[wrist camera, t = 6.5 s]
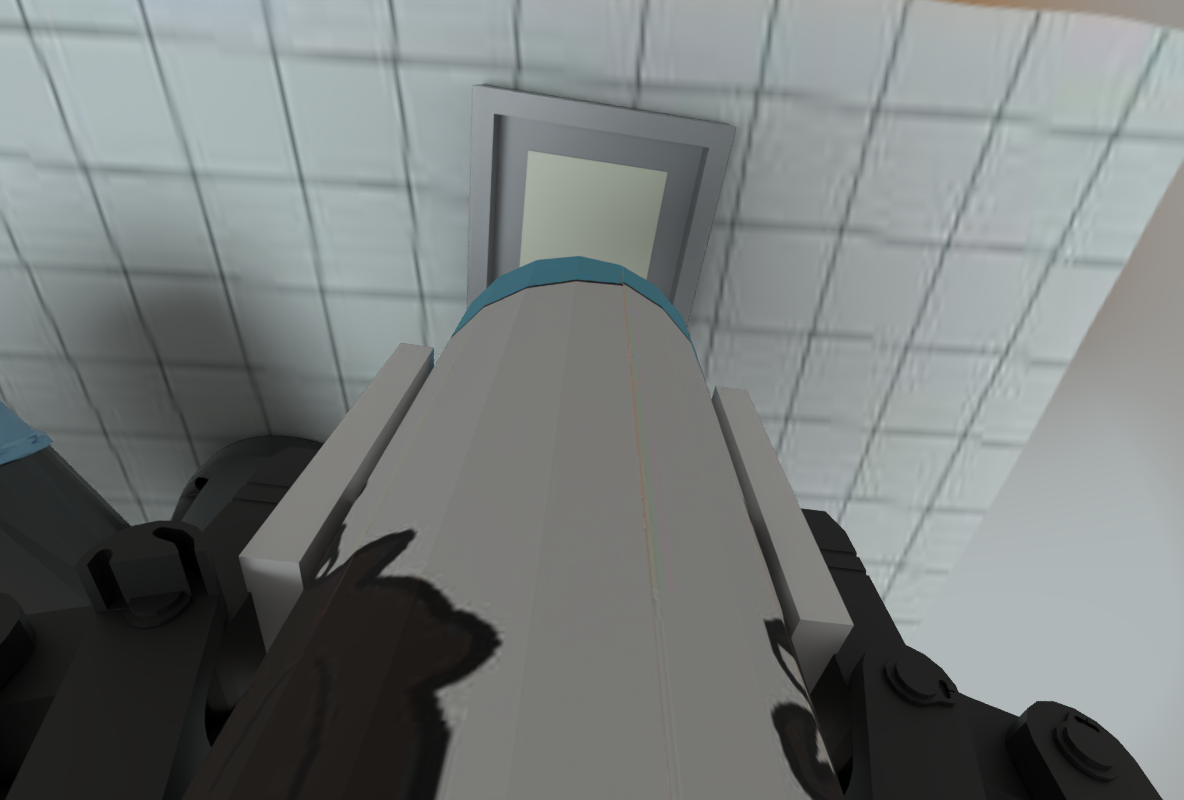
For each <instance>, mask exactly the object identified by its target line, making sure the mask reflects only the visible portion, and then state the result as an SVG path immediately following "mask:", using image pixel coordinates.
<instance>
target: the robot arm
mask: <svg viewBox="0 0 1184 800" xmlns="http://www.w3.org/2000/svg"><path fill="white" fill-rule="evenodd" d="M433 368H434V348H433V347H426V346H419V345H411V344H404V343H401V344H400V345H399V346H398V348H397V349H396V350H395V351H394V353H393V354H392V355H391V357H390V358H389V359H388V361H387V362H386V363H385V365H384V366H383V367H382V369H381V370H380V371H379V372H378V374H377V375H376V376H375V378H374V379H373V380H372V382H371V383H370V384H369V386H368V387H367V388H366V390H365V391H364V392H363V393H362V395H361V396H360V397H359V399H358V400H357V401H356V403H355V404H354V405H353V407H352V408H351V409H350V411H349V412H348V413H347V414H346V416H345V417H344V418H343V420H342V421H341V422H340V424H339V425H338V426H337V428H336V429H335V430H334V432H333V433H332V434H331V436H330V437H329V438H328V439H327V441H326V442H325V443H324V445H322V444H319V443H316V442H312V441H309V440H304V439H299V438H293V437H284V436H263V437H255V438H249V439H245V440H241V441H238V442H235V443H233V444H231V445H229V446H227V447H225V448H223V449H222V450H220V451H219V452H218V453H216V454H215V455H214V456H213V457H212V458H211V459H210V460H209V461H208V462H207V463H206V464H205V465H204V466H203V467H202V468H201V469H199V470H198V471H197V472H196V473H195V475H194V476H193V477H192V478H191V479H190V481H189V482H188V483H187V485H186V487H185V488H184V490H183V492H182V495H181V497H180V499H179V501H178V504H177V506H176V508H175V511H174V513H173V515H172V518H171V520H170V521H155V522H150V523H145V524H140V525H135V526H131V525H130V524H129V523H128V522H127V521H125V520H124V519H123V518H122V517H121V516H120V515H119V514H118V513H117V512H116V511H115V510H114V509H113V508H112V507H111V506H110V505H109V504H108V503H107V502H106V501H105V500H104V499H103V498H102V497H101V496H100V495H99V494H98V493H97V492H96V491H95V490H94V489H93V488H92V487H91V486H90V485H89V484H88V483H87V482H86V481H85V480H84V479H83V478H82V477H81V476H80V475H79V474H78V473H77V472H76V471H75V470H74V469H73V468H72V467H71V466H70V465H69V464H68V463H67V462H66V461H65V460H64V459H63V458H62V457H61V456H60V455H59V454H58V453H57V452H56V451H55V450H54V449H53V448H52V447H51V446H50V444H51V443H52V442H53V441H52V440H51V439H50V438H49V437H48V436H47V435H46V433H43V432H40V431H39V430H35V429H32V428H31V427H30V426H29V425H27V424H26V423H25V422H24V421H23V420H22V419H21V418H20V417H18V416H17V415H16V414H15V413H14V412H13V411H12V410H11V409H9V408H8V407H7V406H6V405H5V404H4V403H3V402H2V401H0V800H181V799H182V797H183V795H184V794H185V792H186V790H187V788H188V787H189V785H190V783H191V782H192V780H193V778H194V777H195V775H196V773H197V771H198V770H199V768H200V766H201V765H202V763H203V761H204V759H205V758H206V756H207V754H208V753H209V751H210V749H211V747H212V746H213V744H214V742H215V741H216V739H217V737H218V735H219V734H220V732H221V730H222V729H223V727H224V725H225V723H226V722H227V720H228V718H229V717H230V715H231V713H232V712H233V710H234V708H235V706H236V705H237V703H238V701H239V700H240V698H241V696H242V694H243V693H244V691H245V689H246V688H247V686H248V684H249V682H250V681H251V679H252V677H253V676H254V674H255V672H256V670H257V669H258V667H259V665H260V664H261V662H262V660H263V658H264V657H265V655H266V653H267V652H268V650H269V648H270V647H271V645H272V643H273V641H274V640H275V638H276V636H277V635H278V633H279V631H280V629H281V628H282V626H283V624H284V623H285V621H286V619H287V617H288V616H289V614H290V612H291V611H292V609H293V607H294V605H295V604H296V602H297V600H298V599H299V597H300V595H301V593H302V592H303V590H304V588H305V587H306V585H307V583H308V582H309V580H310V578H311V576H312V575H313V573H314V571H315V570H316V568H317V566H318V564H319V563H320V561H321V559H322V558H323V556H324V554H325V552H326V551H327V549H328V547H329V546H330V544H331V542H332V540H333V539H334V537H335V535H336V534H337V532H338V530H339V528H340V527H341V525H342V523H343V522H344V520H345V518H346V517H347V515H348V513H349V511H350V510H351V508H352V506H353V505H354V503H355V501H356V499H357V498H358V496H359V494H360V493H361V491H362V489H363V487H364V486H365V484H366V482H367V481H368V479H369V477H370V475H371V474H372V472H373V470H374V469H375V467H376V465H377V463H378V462H379V460H380V458H381V457H382V455H383V453H384V451H385V450H386V448H387V446H388V445H389V443H390V441H391V440H392V438H393V436H394V434H395V433H396V431H397V429H398V428H399V426H400V424H401V422H402V421H403V419H404V417H405V416H406V414H407V412H408V410H409V409H410V407H411V405H412V404H413V402H414V400H415V398H416V397H417V395H418V393H419V392H420V390H421V388H422V386H423V385H424V383H425V381H426V380H427V378H428V376H429V375H430V373H431V371H432V369H433ZM712 403H713V406H714V409H715V412H716V415H717V418H718V421H719V424H720V427H721V430H722V433H723V436H724V439H725V442H726V445H727V448H728V451H729V454H730V457H731V460H732V463H733V466H734V469H735V472H736V475H737V478H738V481H739V484H740V487H741V490H742V493H743V496H744V499H745V502H746V505H747V508H748V511H749V514H750V517H751V520H752V523H753V526H754V529H755V532H756V535H757V538H758V541H759V544H760V547H761V550H762V553H763V556H764V559H765V562H766V565H767V568H768V571H769V574H770V577H771V580H772V583H773V586H774V588H775V591H776V594H777V597H778V600H779V603H780V606H781V609H782V612H783V615H784V618H785V621H786V624H787V627H788V630H789V633H790V636H791V639H792V642H793V645H794V648H795V651H796V654H797V657H798V660H799V663H800V666H801V669H802V672H803V675H804V678H805V681H806V684H807V687H808V690H809V693H810V696H811V699H812V702H813V705H814V708H815V711H816V714H817V717H818V720H819V723H820V726H821V729H822V732H823V735H824V738H825V741H826V744H827V747H828V750H829V753H830V756H831V759H832V762H833V765H834V768H835V771H836V774H837V777H838V780H839V783H840V786H841V789H842V792H843V795H844V798H845V800H1163V799H1162V798H1161V797H1160V795H1159V794H1158V792H1157V791H1156V789H1155V788H1154V786H1153V785H1152V784H1151V782H1150V781H1149V779H1148V778H1147V776H1146V775H1145V774H1144V772H1143V771H1142V769H1141V768H1140V766H1139V765H1138V763H1137V762H1136V761H1135V759H1134V758H1133V757H1132V756H1131V755H1130V754H1129V752H1128V751H1127V750H1126V749H1125V748H1124V747H1123V745H1122V744H1121V743H1120V742H1119V741H1118V740H1117V739H1116V738H1115V737H1114V736H1113V735H1111V734H1110V733H1109V732H1108V731H1107V730H1105V729H1104V728H1103V727H1102V726H1101V725H1100V724H1098V723H1097V722H1096V721H1094V720H1092V719H1091V718H1089V717H1087V716H1086V715H1084V714H1082V713H1081V712H1079V711H1077V710H1076V709H1074V708H1071V707H1068V706H1065V705H1063V704H1060V703H1057V702H1054V701H1037V702H1036V703H1034V704H1033V705H1031V706H1030V707H1029V708H1027V710H1026V711H1025V712H1024V713H1023V714H1022V715H1021V716H1020V717H1018V716H1015V715H1013V714H1011V713H1008V712H1005V711H1003V710H1001V709H998V708H995V707H993V706H990V705H988V704H985V703H983V702H980V701H977V700H975V699H972V698H970V697H968V696H965V695H963V694H961V693H959V692H958V690H957V687H956V685H955V684H954V683H953V682H952V680H951V679H950V678H949V677H948V675H947V674H946V673H945V672H944V670H943V669H942V668H941V667H939V666H938V665H937V664H935V663H934V662H933V661H932V660H931V659H930V658H928V657H927V656H926V655H924V654H923V653H921V652H919V651H917V650H915V649H913V648H911V647H909V646H907V645H906V644H905V643H904V641H903V639H902V637H901V635H900V633H899V632H898V630H897V628H896V626H895V624H894V622H893V620H892V618H891V616H890V615H889V613H888V611H887V609H886V607H885V605H884V603H883V601H882V600H881V598H880V596H879V594H878V592H877V590H876V588H875V586H874V585H873V583H872V581H871V579H870V577H869V576H868V575H866V569H865V568H864V566H863V564H862V562H861V560H860V558H859V557H857V556H856V554H857V553H856V551H855V549H854V547H853V545H852V543H851V541H850V539H849V537H848V536H847V534H846V532H845V531H844V530H843V529H842V528H841V527H840V526H839V525H838V524H837V523H836V522H835V521H834V520H833V519H832V518H831V517H830V516H829V515H828V514H827V513H826V512H825V511H817V510H809V509H801V508H800V506H799V504H798V502H797V500H796V497H795V495H794V493H793V491H792V489H791V486H790V484H789V482H788V480H787V478H786V475H785V473H784V471H783V469H782V467H781V464H780V462H779V460H778V458H777V456H776V454H775V451H774V449H773V447H772V445H771V443H770V440H769V438H768V436H767V434H766V432H765V429H764V427H763V425H762V423H761V421H760V418H759V416H758V414H757V412H756V410H755V407H754V405H753V403H752V401H751V399H750V397H749V394H748V392H747V390H742V389H735V388H728V387H720V386H716V387H715V390H714V394H713V397H712Z"/></svg>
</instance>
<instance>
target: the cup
mask: <svg viewBox="0 0 1184 800" xmlns="http://www.w3.org/2000/svg"><path fill="white" fill-rule="evenodd" d="M181 800H845V798H844V795H843V792H842V789H841V786H840V783H839V780H838V777H837V774H836V771H835V768H834V765H833V762H832V759H831V756H830V753H829V750H828V747H827V744H826V741H825V738H824V735H823V732H822V729H821V726H820V723H819V720H818V717H817V714H816V711H815V708H814V705H813V702H812V699H811V696H810V693H809V690H808V687H807V684H806V681H805V678H804V675H803V672H802V669H801V666H800V663H799V660H798V657H797V654H796V651H795V648H794V645H793V642H792V639H791V636H790V633H789V630H788V627H787V624H786V621H785V618H784V615H783V612H782V609H781V606H780V603H779V600H778V597H777V594H776V591H775V588H774V586H773V583H772V580H771V577H770V574H769V571H768V568H767V565H766V562H765V559H764V556H763V553H762V550H761V547H760V544H759V541H758V538H757V535H756V532H755V529H754V526H753V523H752V520H751V517H750V514H749V511H748V508H747V505H746V502H745V499H744V496H743V493H742V490H741V487H740V484H739V481H738V478H737V475H736V472H735V469H734V466H733V463H732V460H731V457H730V454H729V451H728V448H727V445H726V442H725V439H724V436H723V433H722V430H721V427H720V424H719V421H718V418H717V415H716V412H715V409H714V406H713V403H712V400H711V397H710V394H709V391H708V388H707V385H706V382H705V379H704V376H703V373H702V370H701V367H700V364H699V361H698V358H697V355H696V352H695V349H694V347H693V344H692V341H691V339H690V336H689V333H688V331H687V328H686V325H685V323H684V320H683V317H682V315H681V314H680V313H679V312H678V311H677V309H676V308H675V307H674V306H673V305H672V304H671V302H670V301H669V300H668V299H667V298H666V297H665V295H664V294H663V293H662V292H661V291H660V290H659V288H658V287H657V286H655V285H654V284H652V283H650V282H649V281H647V280H645V279H644V278H642V277H640V276H639V275H637V274H635V273H634V272H632V271H630V270H628V269H627V268H625V267H623V266H622V265H618V264H614V263H609V262H605V261H600V260H596V259H591V258H587V257H582V256H573V257H562V258H552V259H541V260H536V261H533V262H531V263H529V264H527V265H524V266H522V267H520V268H517V269H515V270H513V271H511V272H508V273H506V274H504V275H502V276H499V277H498V278H497V279H496V280H495V281H494V282H493V283H492V284H491V285H490V286H489V287H488V288H487V289H486V290H484V291H483V292H482V293H481V294H480V295H479V296H478V297H477V298H476V299H475V300H474V301H473V302H472V303H471V304H470V306H469V308H468V310H467V311H466V313H465V315H464V316H463V318H462V320H461V321H460V323H459V325H458V327H457V328H456V330H455V332H454V333H453V335H452V337H451V339H450V340H449V342H448V344H447V345H446V347H445V349H444V351H443V352H442V354H441V356H440V357H439V359H438V361H437V363H436V364H435V366H434V368H433V369H432V371H431V373H430V375H429V376H428V378H427V380H426V381H425V383H424V385H423V386H422V388H421V390H420V392H419V393H418V395H417V397H416V398H415V400H414V402H413V404H412V405H411V407H410V409H409V410H408V412H407V414H406V416H405V417H404V419H403V421H402V422H401V424H400V426H399V428H398V429H397V431H396V433H395V434H394V436H393V438H392V440H391V441H390V443H389V445H388V446H387V448H386V450H385V451H384V453H383V455H382V457H381V458H380V460H379V462H378V463H377V465H376V467H375V469H374V470H373V472H372V474H371V475H370V477H369V479H368V481H367V482H366V484H365V486H364V487H363V489H362V491H361V493H360V494H359V496H358V498H357V499H356V501H355V503H354V505H353V506H352V508H351V510H350V511H349V513H348V515H347V517H346V518H345V520H344V522H343V523H342V525H341V527H340V528H339V530H338V532H337V534H336V535H335V537H334V539H333V540H332V542H331V544H330V546H329V547H328V549H327V551H326V552H325V554H324V556H323V558H322V559H321V561H320V563H319V564H318V566H317V568H316V570H315V571H314V573H313V575H312V576H311V578H310V580H309V582H308V583H307V585H306V587H305V588H304V590H303V592H302V593H301V595H300V597H299V599H298V600H297V602H296V604H295V605H294V607H293V609H292V611H291V612H290V614H289V616H288V617H287V619H286V621H285V623H284V624H283V626H282V628H281V629H280V631H279V633H278V635H277V636H276V638H275V640H274V641H273V643H272V645H271V647H270V648H269V650H268V652H267V653H266V655H265V657H264V658H263V660H262V662H261V664H260V665H259V667H258V669H257V670H256V672H255V674H254V676H253V677H252V679H251V681H250V682H249V684H248V686H247V688H246V689H245V691H244V693H243V694H242V696H241V698H240V700H239V701H238V703H237V705H236V706H235V708H234V710H233V712H232V713H231V715H230V717H229V718H228V720H227V722H226V723H225V725H224V727H223V729H222V730H221V732H220V734H219V735H218V737H217V739H216V741H215V742H214V744H213V746H212V747H211V749H210V751H209V753H208V754H207V756H206V758H205V759H204V761H203V763H202V765H201V766H200V768H199V770H198V771H197V773H196V775H195V777H194V778H193V780H192V782H191V783H190V785H189V787H188V788H187V790H186V792H185V794H184V795H183V797H182V799H181Z"/></svg>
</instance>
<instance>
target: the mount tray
mask: <svg viewBox="0 0 1184 800" xmlns="http://www.w3.org/2000/svg"><path fill="white" fill-rule="evenodd" d="M735 130H736V127H734V126H731V125H729V124H725V123H719V122H713V121H707V120H701V119H694V118H688V117H682V116H676V115H669V114H663V113H657V112H651V111H644V110H638V109H632V108H626V107H620V106H613V105H607V104H601V103H595V102H588V101H582V100H576V99H570V98H564V97H557V96H551V95H545V94H539V93H532V92H526V91H520V90H514V89H508V88H501V87H495V86H489V85H483V84H481V85H472V126H471V166H470V206H469V246H468V286H467V310H468V308H469V306H470V304H471V303H472V302H473V301H474V300H475V299H476V298H477V297H478V296H479V295H480V294H481V293H482V292H483V291H484V290H486V289H487V288H488V287H489V286H490V285H491V284H492V283H493V282H494V281H495V280H496V279H497V278H498V277H499V276H502V275H504V274H506V273H508V272H511V271H513V270H515V269H517V268H520V267H522V266H524V265H527V264H529V263H531V262H533V261H536V260H541V259H552V258H562V257H573V256H582V257H587V258H591V259H596V260H600V261H605V262H609V263H614V264H618V265H622V266H623V267H625V268H627V269H628V270H630V271H632V272H634V273H635V274H637V275H639V276H640V277H642V278H644V279H645V280H647V281H649V282H650V283H652V284H654V285H655V286H657V287H658V288H659V290H660V291H661V292H662V293H663V294H664V295H665V297H666V298H667V299H668V300H669V301H670V302H671V304H672V305H673V306H674V307H675V308H676V309H677V311H678V312H679V313H680V314H681V315H682V317H683V320H684V323H685V325H686V328H687V324H688V320H689V316H690V312H691V308H692V304H693V300H694V296H695V292H696V288H697V284H698V280H699V276H700V271H701V267H702V263H703V259H704V255H705V251H706V247H707V243H708V239H709V235H710V231H711V227H712V223H713V219H714V215H715V211H716V207H717V203H718V199H719V194H720V190H721V186H722V182H723V178H724V174H725V170H726V166H727V162H728V158H729V154H730V150H731V146H732V142H733V138H734V134H735Z"/></svg>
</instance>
